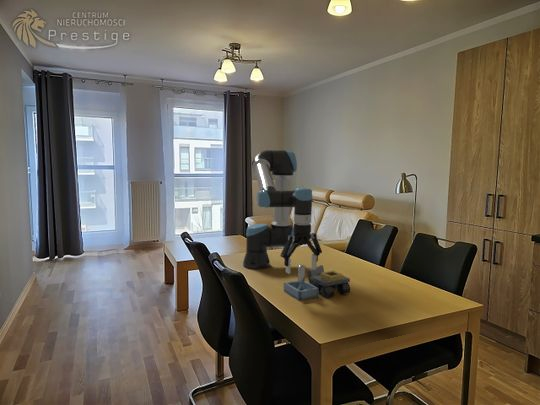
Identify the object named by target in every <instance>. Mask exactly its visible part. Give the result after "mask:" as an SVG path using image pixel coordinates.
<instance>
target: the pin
mask: <svg viewBox="0 0 540 405" xmlns="http://www.w3.org/2000/svg"><path fill="white" fill-rule="evenodd" d="M305 273H306V265H305V264H298V266H297V281H298V290H300V291H302V290H304V286H305V281H306V280H305V278H306V274H305Z"/></svg>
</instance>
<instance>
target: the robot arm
mask: <svg viewBox="0 0 540 405" xmlns="http://www.w3.org/2000/svg"><path fill="white" fill-rule="evenodd" d="M252 159H253V160H252V161H251V170H252V172H253V173H254V174H255V176H256V181H257V182H256V183H257V184H258V189H259V190H258V191H257V195H256V201H257V206H258V207H259V208H273V220H272V221H271V222H270V225H269V226H268V224H267V223H255V224H252V225H251V224H250V225H249V226H247V228H246V234H245V236H246V244H245V245H246V248H245V249H246V250H245V252H246V253H245V255H244V258H243V261H242V265H243V267H244V268H247V269H251V270H259V269H260V270H263V269H268V268H269V267H270V266H271V261H270V258H269V254H268V248H280V247H281V248H283V249H282V251H281V253H280V257H281V258H283V259H284V266H285V273H286V274H288V275H290V274H291V269H292V268H291V265H292V264H291V262H292V260H291V256H293V254H294V252H295V250H297V248H299V246H304V245H305V246H306V245H307V246H308V248H309V249H310V250H311V252H312V254H311V266H310V267H311V268H312V269H314V270H316V267H317V263H318V260H319V256H320V254H322V252H323V251H322V248H321V245H320V242H319V241H318V237H317V236H318V235H317V233H315V232H312V210H313V209H312V208H313V207H312V206H313V189H311V188H309V187H297V188H295V189H293V190H291V178H292V177H293V176H294V173H296V172H297V169H298V162H297V156H296V154H295V153H294V151H293V150H292V151H291V150H277V149H275V150H274V149H273V150H270V149H269V150H268V149H266V150H262V151H260V152H258V153H257V154H256V155H255V156H254V157H253V158H252ZM273 178H274V180H273ZM290 208H293V210H294V211H293V212H294V214H293V215H294V216H293V223H294V224H293V225H292V222H291V221H290ZM310 239H311V240H312V241H311V240H310ZM312 242H313V243H312ZM311 268H310V269H311Z"/></svg>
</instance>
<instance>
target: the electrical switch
mask: <svg viewBox="0 0 540 405" xmlns="http://www.w3.org/2000/svg"><path fill="white" fill-rule="evenodd" d="M306 272H307V277H308V283H310V284H311V281H312V280H311V276H317V275H321V273H322V272H325V269H324V265H321V264H320V265H318V266H317V265H316V270H314V269H312V268H310V269H308V270H306Z"/></svg>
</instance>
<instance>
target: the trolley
mask: <svg viewBox="0 0 540 405" xmlns="http://www.w3.org/2000/svg"><path fill="white" fill-rule="evenodd" d="M311 280H312V281H311V284H312V285H313V286H315V287H317V288H319V292H320V293H321V296H322V297H323V298H325V299H327V298H332V297H333V296H335V291H334V290H335V289H337V291H338V293H339V294H340V295H341V296H342V295H347V294H349V293H350V292H351V286H350V281H351V279H350V277H348V276H345V275H344V274H343V273H342V274H341V273H340V272H337V271H336V270H335V271H334V270H330V271H324V272H322V273H321V275H317V276H311Z"/></svg>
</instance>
